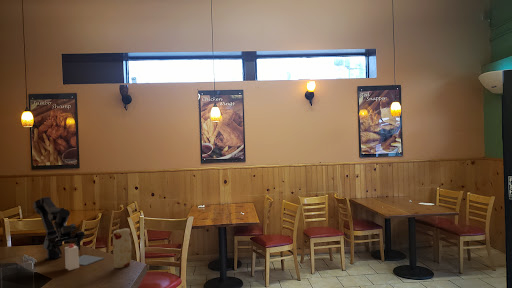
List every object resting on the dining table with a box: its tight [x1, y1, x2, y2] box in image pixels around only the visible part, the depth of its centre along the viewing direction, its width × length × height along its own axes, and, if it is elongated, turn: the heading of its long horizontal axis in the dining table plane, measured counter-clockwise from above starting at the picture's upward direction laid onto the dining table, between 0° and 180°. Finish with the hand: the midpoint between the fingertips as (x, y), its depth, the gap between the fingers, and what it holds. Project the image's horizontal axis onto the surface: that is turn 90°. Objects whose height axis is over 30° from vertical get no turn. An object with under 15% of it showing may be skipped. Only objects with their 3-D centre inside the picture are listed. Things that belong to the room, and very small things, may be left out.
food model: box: [112, 227, 132, 269], centre depth 195 cm, size 10×7×20 cm
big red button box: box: [64, 243, 80, 271], centre depth 196 cm, size 5×5×12 cm
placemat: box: [79, 254, 105, 267], centre depth 208 cm, size 16×12×1 cm
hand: (70, 252), depth 198 cm, fingers open, 9 cm apart
